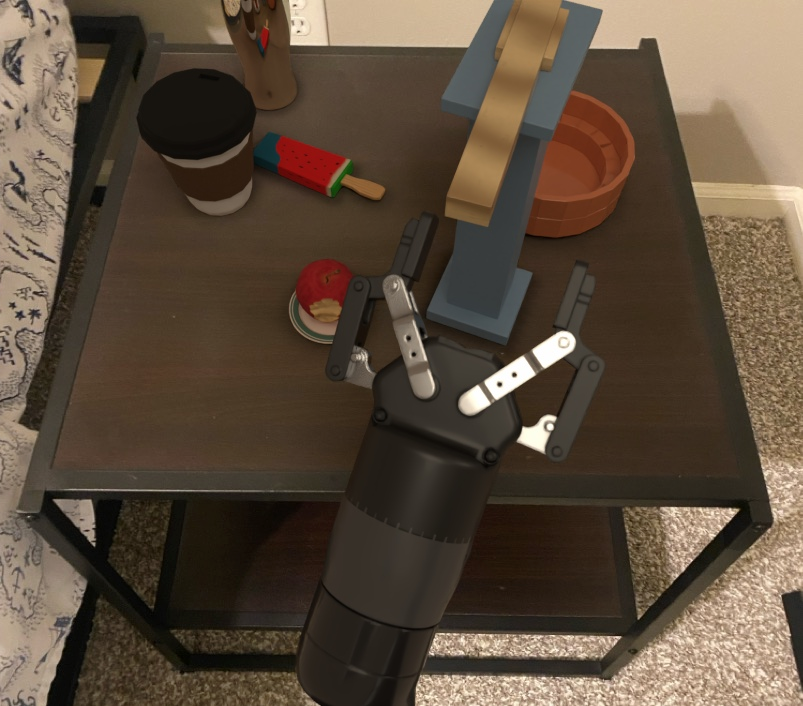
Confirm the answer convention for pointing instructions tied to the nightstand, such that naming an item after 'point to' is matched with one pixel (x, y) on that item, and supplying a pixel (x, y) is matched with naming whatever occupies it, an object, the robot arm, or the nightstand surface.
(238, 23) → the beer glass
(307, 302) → the apple
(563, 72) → the stand
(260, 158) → the popsicle
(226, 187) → the coffee cup
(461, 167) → the stick
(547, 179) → the bowl
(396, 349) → the nightstand surface
